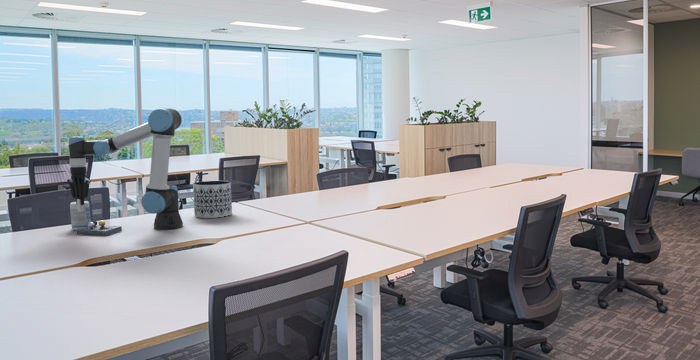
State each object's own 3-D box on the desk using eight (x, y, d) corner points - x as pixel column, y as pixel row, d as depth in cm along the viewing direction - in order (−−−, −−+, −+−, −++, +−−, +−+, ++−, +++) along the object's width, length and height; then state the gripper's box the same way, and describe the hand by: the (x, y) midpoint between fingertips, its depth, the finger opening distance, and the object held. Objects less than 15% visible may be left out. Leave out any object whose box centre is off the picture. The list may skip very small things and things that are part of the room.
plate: (121, 230, 284) (121, 226, 283) (106, 235, 272) (105, 230, 272) (93, 229, 288) (92, 225, 288) (76, 234, 277) (76, 229, 276)
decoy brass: (106, 226, 285) (106, 220, 284) (102, 227, 282) (102, 221, 281) (101, 225, 285) (101, 220, 285) (97, 227, 282) (97, 221, 282)
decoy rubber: (98, 225, 286) (98, 219, 286) (94, 226, 283) (94, 221, 282) (93, 225, 287) (93, 219, 286) (89, 226, 284) (89, 220, 283)
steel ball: (96, 227, 280) (95, 221, 280) (91, 229, 277) (91, 223, 277) (91, 227, 281) (90, 221, 281) (86, 228, 278) (86, 222, 278)
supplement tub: (92, 229, 289) (90, 202, 288) (72, 231, 284) (70, 204, 283) (89, 226, 298) (87, 200, 296) (70, 228, 292) (68, 202, 291)
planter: (227, 218, 315) (225, 184, 313) (189, 219, 315) (187, 185, 313) (235, 212, 337) (234, 180, 335) (200, 212, 338) (199, 180, 335)
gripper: (93, 166, 279) (96, 210, 282) (73, 165, 282) (75, 209, 285) (83, 167, 272) (86, 212, 274) (62, 166, 275) (64, 211, 278)
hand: (80, 211), depth 280 cm, fingers closed
